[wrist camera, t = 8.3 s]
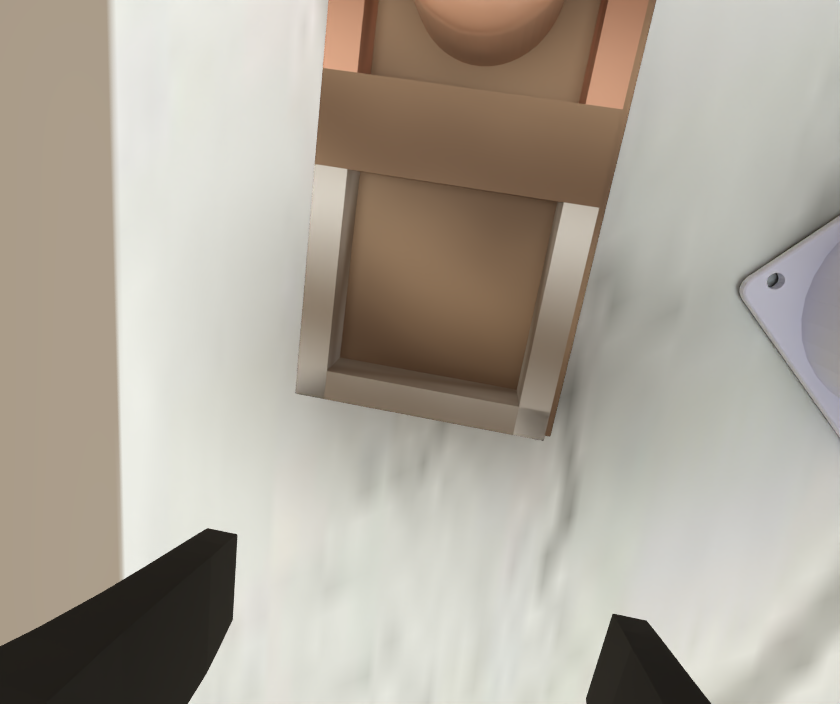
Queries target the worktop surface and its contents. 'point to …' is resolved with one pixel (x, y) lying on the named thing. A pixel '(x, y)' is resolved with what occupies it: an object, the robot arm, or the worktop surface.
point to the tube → (488, 27)
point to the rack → (460, 212)
